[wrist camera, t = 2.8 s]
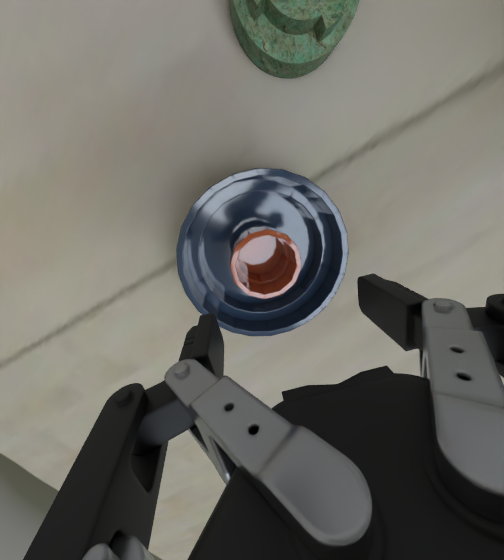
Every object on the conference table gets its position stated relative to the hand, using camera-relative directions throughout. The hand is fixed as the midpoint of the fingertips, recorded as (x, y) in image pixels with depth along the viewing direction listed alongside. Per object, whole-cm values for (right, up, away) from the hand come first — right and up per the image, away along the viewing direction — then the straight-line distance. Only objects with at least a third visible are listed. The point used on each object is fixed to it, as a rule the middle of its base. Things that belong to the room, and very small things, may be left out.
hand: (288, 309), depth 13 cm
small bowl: (-1, +5, +13) cm, 14 cm away
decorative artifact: (+1, +25, +7) cm, 26 cm away
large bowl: (-1, +5, +14) cm, 15 cm away
